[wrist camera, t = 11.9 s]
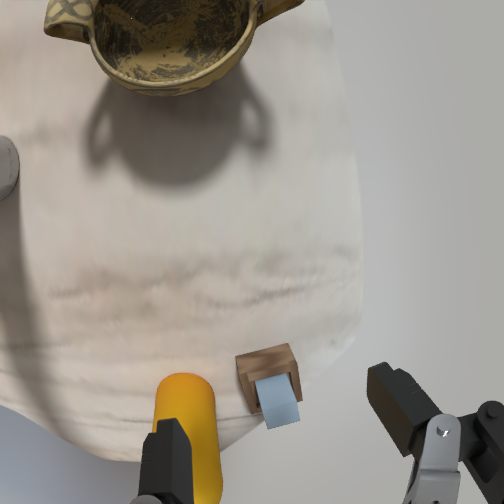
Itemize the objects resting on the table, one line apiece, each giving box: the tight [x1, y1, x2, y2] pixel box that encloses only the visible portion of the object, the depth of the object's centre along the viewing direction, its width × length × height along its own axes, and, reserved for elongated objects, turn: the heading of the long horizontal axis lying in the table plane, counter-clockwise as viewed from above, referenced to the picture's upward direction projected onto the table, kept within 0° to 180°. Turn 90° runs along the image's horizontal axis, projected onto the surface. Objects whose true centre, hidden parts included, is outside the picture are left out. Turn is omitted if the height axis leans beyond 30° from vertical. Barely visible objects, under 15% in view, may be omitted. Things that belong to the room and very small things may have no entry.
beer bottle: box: [152, 373, 223, 504], centre depth 31 cm, size 9×9×29 cm
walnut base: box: [236, 343, 303, 414], centre depth 43 cm, size 8×8×5 cm
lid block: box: [255, 373, 300, 429], centre depth 38 cm, size 4×4×6 cm
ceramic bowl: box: [44, 0, 305, 96], centre depth 22 cm, size 22×17×15 cm
